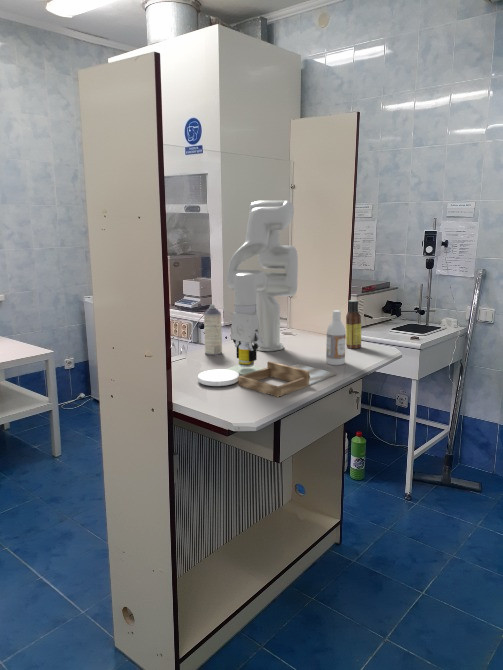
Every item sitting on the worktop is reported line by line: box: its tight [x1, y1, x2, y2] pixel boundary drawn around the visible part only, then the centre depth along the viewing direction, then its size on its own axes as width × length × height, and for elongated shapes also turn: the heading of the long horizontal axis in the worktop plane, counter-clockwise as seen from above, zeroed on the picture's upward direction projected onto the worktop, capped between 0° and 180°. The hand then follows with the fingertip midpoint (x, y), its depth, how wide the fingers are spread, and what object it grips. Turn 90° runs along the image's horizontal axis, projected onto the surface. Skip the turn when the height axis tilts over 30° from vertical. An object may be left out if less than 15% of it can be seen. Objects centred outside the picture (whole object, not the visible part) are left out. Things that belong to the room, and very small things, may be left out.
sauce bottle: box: [345, 299, 362, 350], centre depth 223 cm, size 6×6×20 cm
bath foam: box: [325, 309, 346, 366], centre depth 200 cm, size 7×7×20 cm
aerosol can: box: [203, 304, 223, 357], centre depth 216 cm, size 7×7×20 cm
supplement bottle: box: [238, 342, 255, 367], centre depth 190 cm, size 5×5×10 cm
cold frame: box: [238, 360, 337, 398], centre depth 183 cm, size 17×31×5 cm, turn 136°
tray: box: [226, 364, 265, 376], centre depth 191 cm, size 12×10×2 cm
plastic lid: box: [197, 368, 239, 387], centre depth 183 cm, size 14×14×2 cm
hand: (246, 358), depth 190 cm, fingers closed on supplement bottle, 5 cm apart
